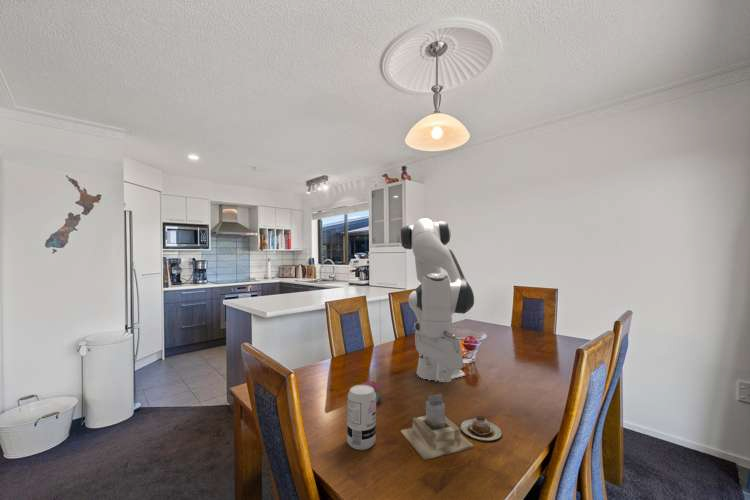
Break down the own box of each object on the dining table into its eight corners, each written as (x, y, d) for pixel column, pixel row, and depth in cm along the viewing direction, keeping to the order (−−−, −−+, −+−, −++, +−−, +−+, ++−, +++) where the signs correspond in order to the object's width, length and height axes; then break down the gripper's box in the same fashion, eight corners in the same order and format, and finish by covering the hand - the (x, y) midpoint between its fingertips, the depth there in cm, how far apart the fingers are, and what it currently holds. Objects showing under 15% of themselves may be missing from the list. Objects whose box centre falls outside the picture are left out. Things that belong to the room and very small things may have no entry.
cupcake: (385, 397, 116) (386, 366, 117) (379, 407, 108) (379, 373, 109) (365, 394, 119) (365, 363, 120) (356, 403, 111) (357, 370, 112)
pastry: (510, 440, 90) (510, 424, 90) (475, 447, 86) (475, 430, 86) (484, 420, 101) (484, 406, 101) (453, 425, 98) (453, 410, 98)
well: (445, 422, 98) (445, 408, 99) (473, 447, 85) (473, 430, 85) (400, 432, 93) (400, 416, 93) (423, 460, 80) (423, 442, 80)
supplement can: (347, 435, 91) (347, 384, 92) (374, 434, 92) (374, 383, 92) (346, 451, 83) (347, 395, 83) (376, 450, 83) (377, 395, 84)
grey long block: (437, 432, 92) (437, 391, 92) (444, 439, 88) (444, 397, 88) (425, 434, 90) (425, 393, 91) (432, 442, 86) (432, 399, 87)
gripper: (468, 335, 82) (469, 387, 81) (428, 321, 101) (428, 363, 100) (448, 337, 80) (449, 391, 79) (411, 322, 99) (411, 365, 98)
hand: (437, 375), depth 90 cm, fingers open, 8 cm apart
